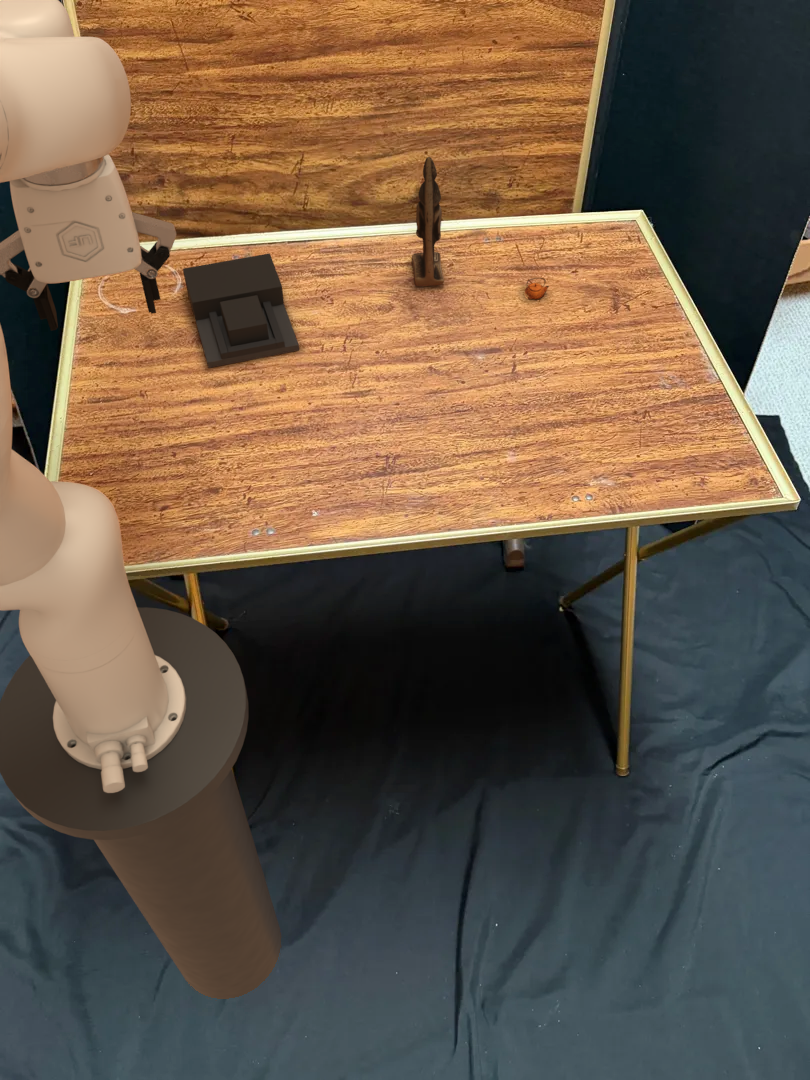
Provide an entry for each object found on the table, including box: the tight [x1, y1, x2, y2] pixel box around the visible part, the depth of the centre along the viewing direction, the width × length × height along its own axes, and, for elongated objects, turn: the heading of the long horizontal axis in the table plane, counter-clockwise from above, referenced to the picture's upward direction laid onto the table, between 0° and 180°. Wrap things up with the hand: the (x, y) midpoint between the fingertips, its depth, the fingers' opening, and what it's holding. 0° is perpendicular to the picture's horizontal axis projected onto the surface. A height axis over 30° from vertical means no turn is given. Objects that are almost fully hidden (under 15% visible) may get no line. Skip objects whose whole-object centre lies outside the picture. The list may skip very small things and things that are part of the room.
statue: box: [411, 156, 445, 287], centre depth 129 cm, size 4×7×20 cm, turn 4°
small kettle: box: [523, 277, 550, 301], centre depth 134 cm, size 3×3×3 cm
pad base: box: [182, 253, 300, 369], centre depth 129 cm, size 16×12×4 cm
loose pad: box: [220, 295, 269, 347], centre depth 127 cm, size 6×5×3 cm
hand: (102, 313), depth 97 cm, fingers open, 9 cm apart
